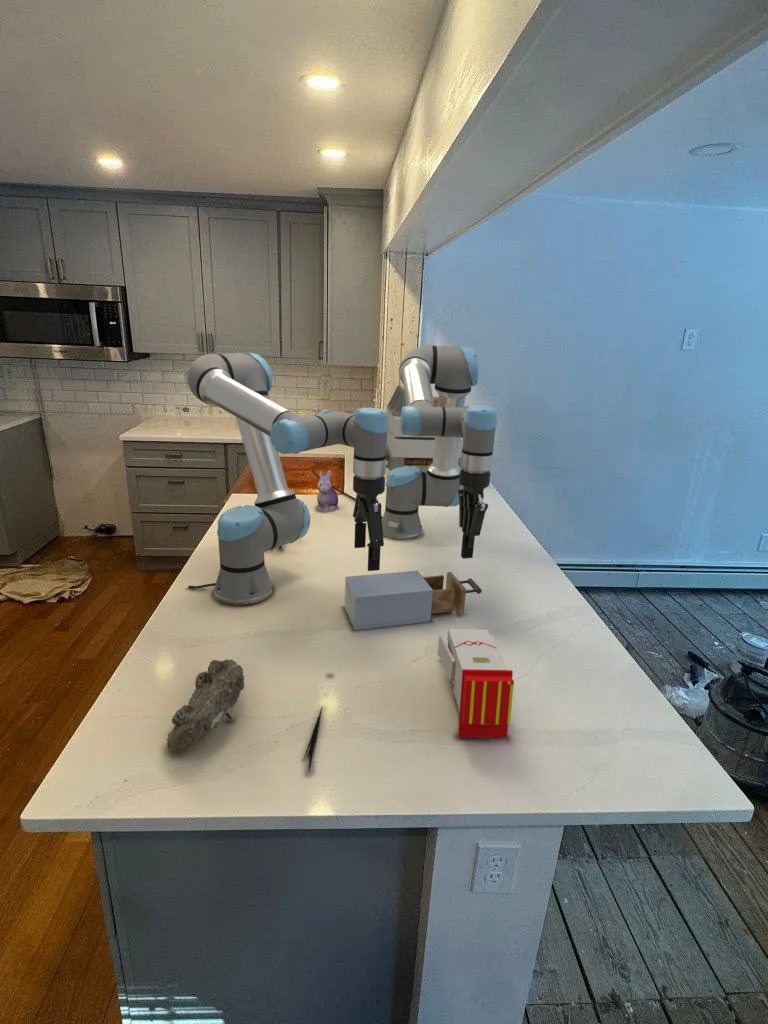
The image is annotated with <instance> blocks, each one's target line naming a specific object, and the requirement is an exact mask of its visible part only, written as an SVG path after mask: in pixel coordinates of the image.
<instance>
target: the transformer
mask: <svg viewBox="0 0 768 1024" xmlns="http://www.w3.org/2000/svg"><path fill="white" fill-rule="evenodd" d="M438 398H439V396H433V400H434V404H435V407H438ZM404 406H406V398H405V390H404V387H402V385H399V384H398V385H397V386H396V388H395V390H394V392H393V394H392V395H391V398H390V400H389V402H388V404H387V405H386V413H387V420H388V433H387V445H386V461H387V462H388V464H387V465H385V467H388V468H389V471H391V470H392V469H395V468H398V467H404V466H413V467H428V466H429V465H431V464H432V463H433V454H434V443H435V436H412V435H404V434H402V433H401V427H400V426H401V425H400V420H401V409H402V408H403V407H404ZM462 447H463V437H461V441H460V450H459V459H458V466H459V467H460V464H461V453H462ZM460 468H461V467H460ZM461 469H462V468H461Z"/></svg>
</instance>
